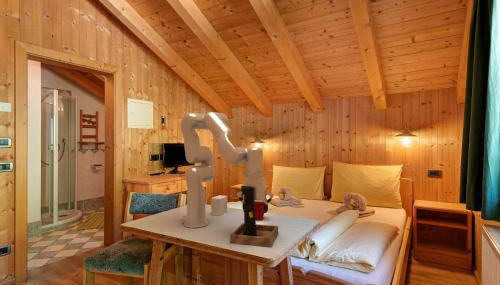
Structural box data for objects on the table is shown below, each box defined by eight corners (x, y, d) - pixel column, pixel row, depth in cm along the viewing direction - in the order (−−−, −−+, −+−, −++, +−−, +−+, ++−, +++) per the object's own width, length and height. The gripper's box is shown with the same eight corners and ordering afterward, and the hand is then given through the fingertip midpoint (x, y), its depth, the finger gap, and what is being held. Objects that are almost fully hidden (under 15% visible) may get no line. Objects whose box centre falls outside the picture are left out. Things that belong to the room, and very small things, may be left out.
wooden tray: (230, 243, 113) (230, 235, 113) (242, 230, 130) (242, 223, 130) (271, 247, 108) (270, 238, 108) (278, 233, 125) (278, 225, 125)
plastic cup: (266, 222, 143) (266, 200, 143) (247, 221, 145) (247, 200, 145) (269, 217, 154) (268, 196, 154) (251, 216, 156) (251, 196, 156)
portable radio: (257, 239, 114) (256, 182, 113) (244, 240, 114) (242, 183, 112) (255, 232, 122) (253, 179, 121) (242, 233, 122) (240, 180, 120)
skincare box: (220, 216, 158) (220, 198, 158) (210, 215, 160) (210, 198, 160) (227, 211, 167) (227, 195, 168) (218, 211, 170) (218, 194, 170)
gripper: (234, 175, 118) (234, 213, 118) (271, 175, 114) (272, 215, 113) (239, 173, 125) (239, 209, 125) (274, 174, 121) (275, 211, 120)
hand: (255, 212), depth 119 cm, fingers open, 9 cm apart
